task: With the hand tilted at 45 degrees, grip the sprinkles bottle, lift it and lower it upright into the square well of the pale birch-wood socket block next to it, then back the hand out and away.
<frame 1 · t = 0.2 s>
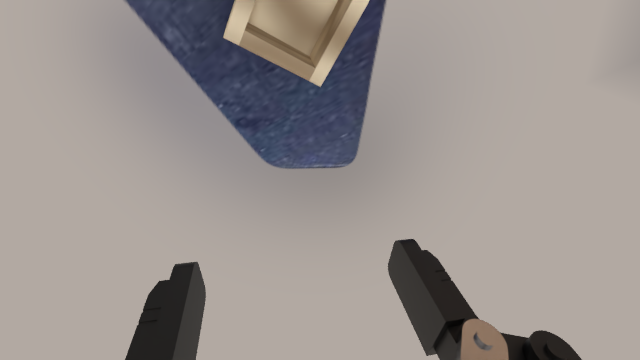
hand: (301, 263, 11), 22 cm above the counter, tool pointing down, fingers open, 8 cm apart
socket block: (294, 2, 24), on the counter
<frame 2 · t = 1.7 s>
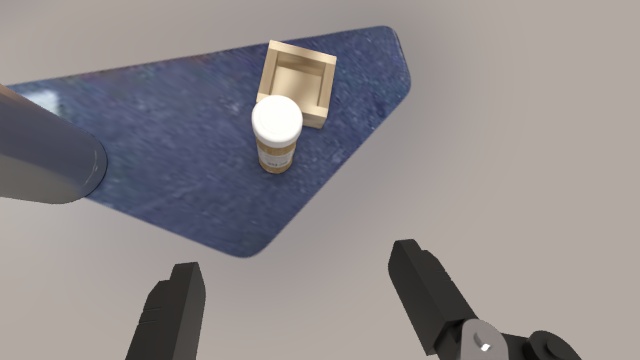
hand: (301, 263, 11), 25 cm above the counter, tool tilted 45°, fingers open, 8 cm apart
sprinkles bottle: (275, 158, 37), on the counter
socket block: (295, 93, 40), on the counter
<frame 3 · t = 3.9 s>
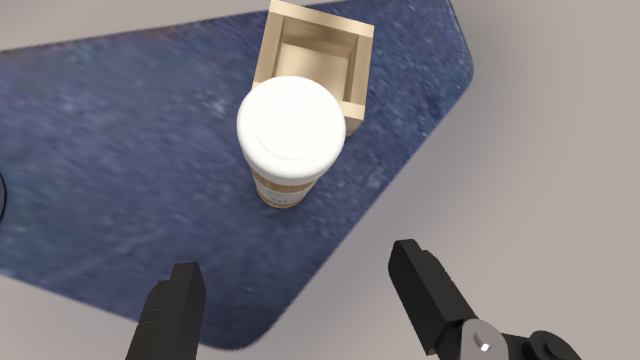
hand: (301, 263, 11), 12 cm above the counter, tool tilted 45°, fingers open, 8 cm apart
sprinkles bottle: (281, 183, 24), on the counter
socket block: (310, 84, 26), on the counter
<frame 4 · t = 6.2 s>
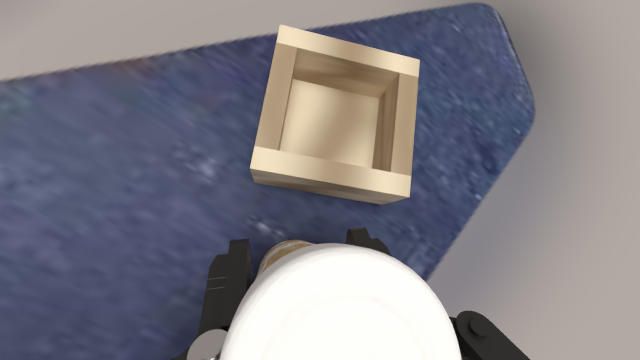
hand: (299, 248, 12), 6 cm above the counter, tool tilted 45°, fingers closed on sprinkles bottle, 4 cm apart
sprinkles bottle: (292, 275, 18), on the counter, touching gripper
socket block: (329, 133, 20), on the counter
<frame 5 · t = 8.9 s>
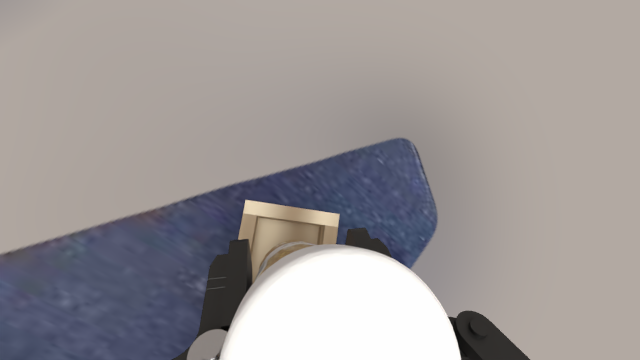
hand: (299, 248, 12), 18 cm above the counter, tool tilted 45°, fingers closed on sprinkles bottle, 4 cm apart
sprinkles bottle: (292, 275, 18), point 12 cm above the counter, touching gripper
socket block: (284, 252, 29), on the counter
when the fingers open (8 cm above the counter, at t = 11.7 s): sprinkles bottle drops 1 cm, resting on socket block.
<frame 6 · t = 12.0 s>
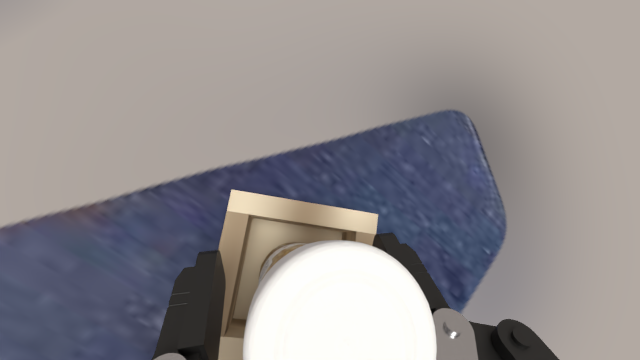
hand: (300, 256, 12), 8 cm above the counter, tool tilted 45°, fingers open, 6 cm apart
sprinkles bottle: (291, 275, 19), resting on socket block
socket block: (290, 271, 19), on the counter
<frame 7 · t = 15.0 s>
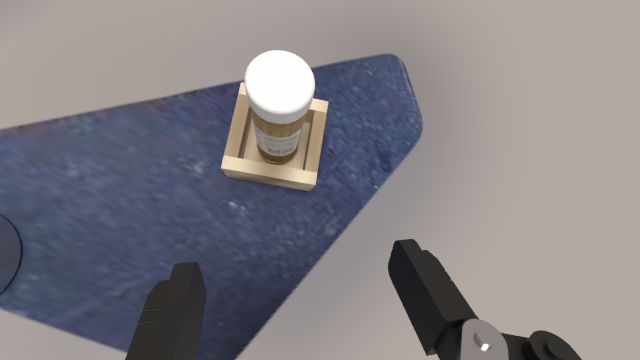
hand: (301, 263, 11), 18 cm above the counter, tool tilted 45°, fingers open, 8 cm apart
sprinkles bottle: (277, 146, 31), resting on socket block
socket block: (277, 145, 31), on the counter
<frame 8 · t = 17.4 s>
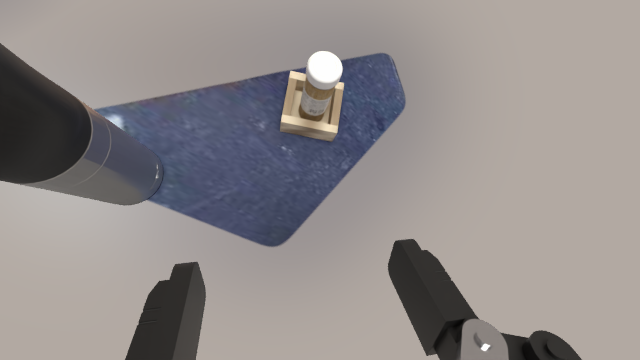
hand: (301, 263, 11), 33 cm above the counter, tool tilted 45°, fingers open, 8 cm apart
sprinkles bottle: (310, 112, 48), resting on socket block
socket block: (310, 112, 48), on the counter
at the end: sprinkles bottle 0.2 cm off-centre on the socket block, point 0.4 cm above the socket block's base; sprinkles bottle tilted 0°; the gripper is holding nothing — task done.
